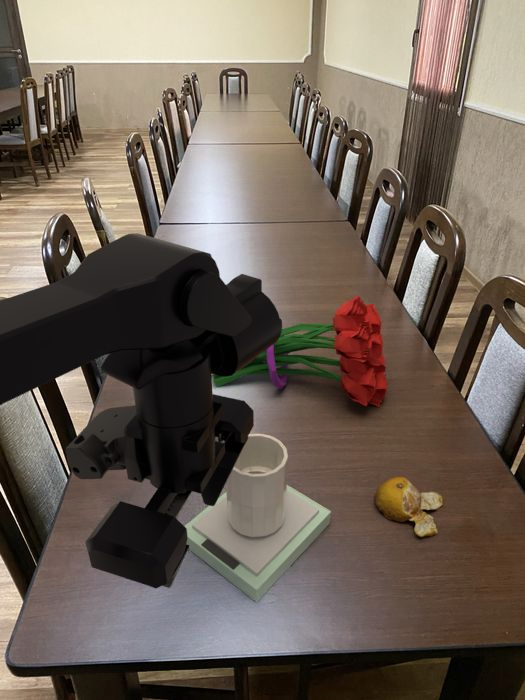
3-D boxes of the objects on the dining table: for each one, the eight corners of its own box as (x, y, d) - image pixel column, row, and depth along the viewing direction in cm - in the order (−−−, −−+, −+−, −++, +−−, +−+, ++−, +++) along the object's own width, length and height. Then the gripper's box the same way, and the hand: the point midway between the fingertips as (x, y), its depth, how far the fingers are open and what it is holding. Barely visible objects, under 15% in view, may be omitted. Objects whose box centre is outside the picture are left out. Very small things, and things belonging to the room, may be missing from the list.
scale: (256, 602, 57) (256, 586, 56) (180, 542, 64) (178, 526, 63) (330, 523, 67) (331, 507, 65) (256, 478, 73) (256, 462, 72)
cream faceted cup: (259, 551, 60) (259, 486, 55) (215, 519, 64) (212, 455, 58) (296, 514, 64) (299, 451, 59) (253, 487, 68) (253, 425, 63)
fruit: (434, 544, 64) (440, 523, 62) (366, 522, 67) (369, 501, 65) (443, 496, 71) (449, 476, 69) (381, 478, 73) (384, 458, 71)
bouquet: (227, 383, 103) (387, 369, 96) (206, 439, 89) (391, 428, 82) (201, 290, 94) (375, 267, 86) (172, 337, 80) (377, 314, 73)
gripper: (142, 327, 50) (158, 453, 58) (-3, 462, 35) (47, 605, 43) (255, 348, 47) (255, 477, 55) (150, 505, 32) (172, 651, 40)
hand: (189, 541), depth 48 cm, fingers open, 9 cm apart
